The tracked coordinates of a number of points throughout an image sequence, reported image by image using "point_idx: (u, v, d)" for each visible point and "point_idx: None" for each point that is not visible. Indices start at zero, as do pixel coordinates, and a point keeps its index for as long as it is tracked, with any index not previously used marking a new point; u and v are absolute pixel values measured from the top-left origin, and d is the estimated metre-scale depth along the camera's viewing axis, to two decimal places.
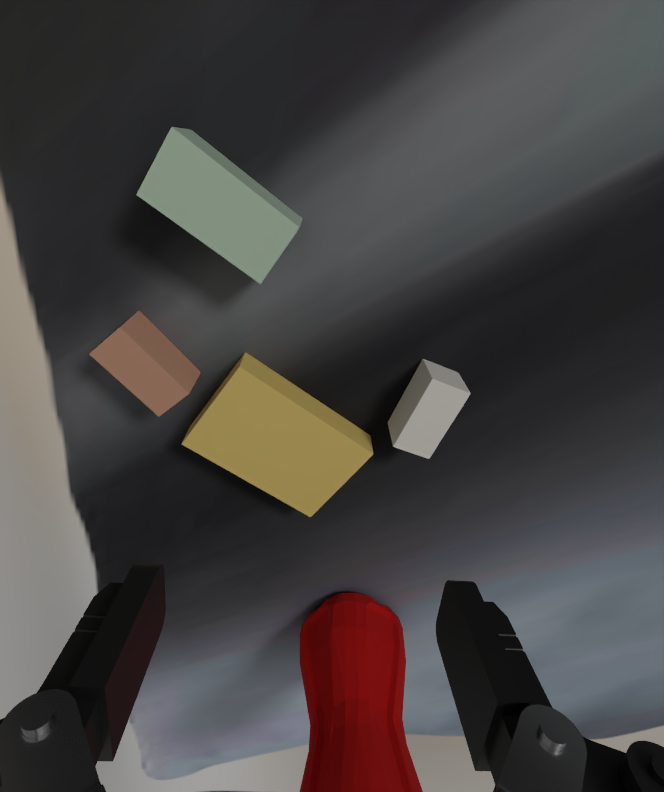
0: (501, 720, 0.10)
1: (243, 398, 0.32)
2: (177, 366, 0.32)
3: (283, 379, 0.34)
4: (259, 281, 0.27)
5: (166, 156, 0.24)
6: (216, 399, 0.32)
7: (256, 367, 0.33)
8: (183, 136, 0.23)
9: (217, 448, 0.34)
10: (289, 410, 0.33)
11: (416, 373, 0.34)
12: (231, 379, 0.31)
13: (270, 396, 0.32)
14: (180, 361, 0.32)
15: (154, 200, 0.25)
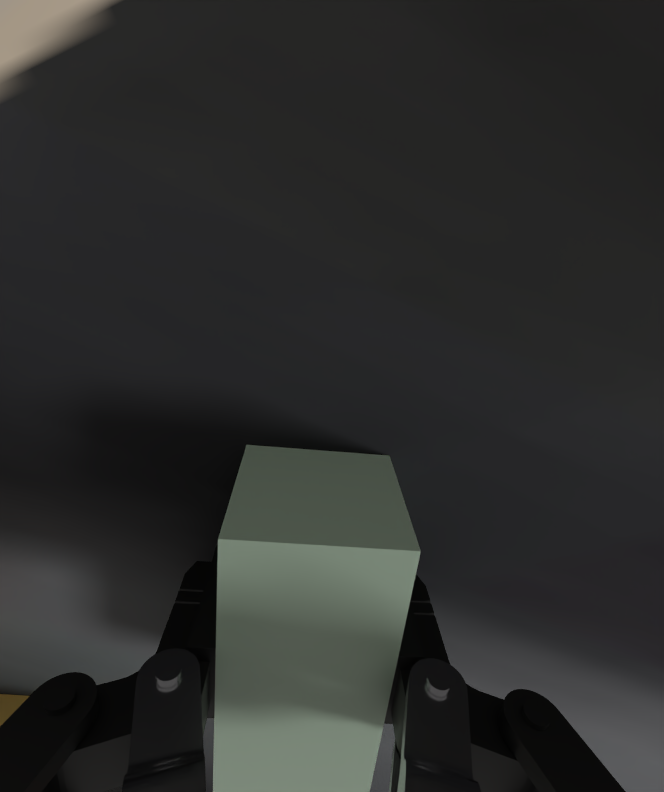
0: (401, 674, 0.10)
1: None
2: None
3: None
4: None
5: (350, 564, 0.09)
6: None
7: None
8: (412, 574, 0.09)
9: None
10: None
11: None
12: None
13: None
14: None
15: (234, 577, 0.09)
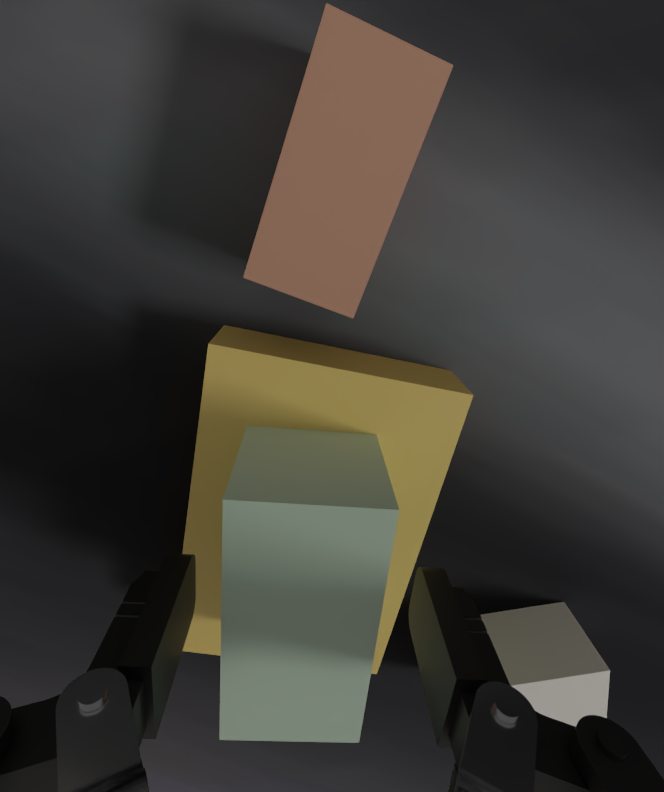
0: (461, 697, 0.10)
1: (399, 430, 0.14)
2: None
3: None
4: (223, 736, 0.13)
5: (338, 522, 0.10)
6: (372, 378, 0.13)
7: None
8: (393, 531, 0.11)
9: (241, 424, 0.14)
10: (408, 518, 0.15)
11: (541, 611, 0.20)
12: (436, 390, 0.14)
13: (426, 475, 0.15)
14: None
15: (237, 534, 0.10)
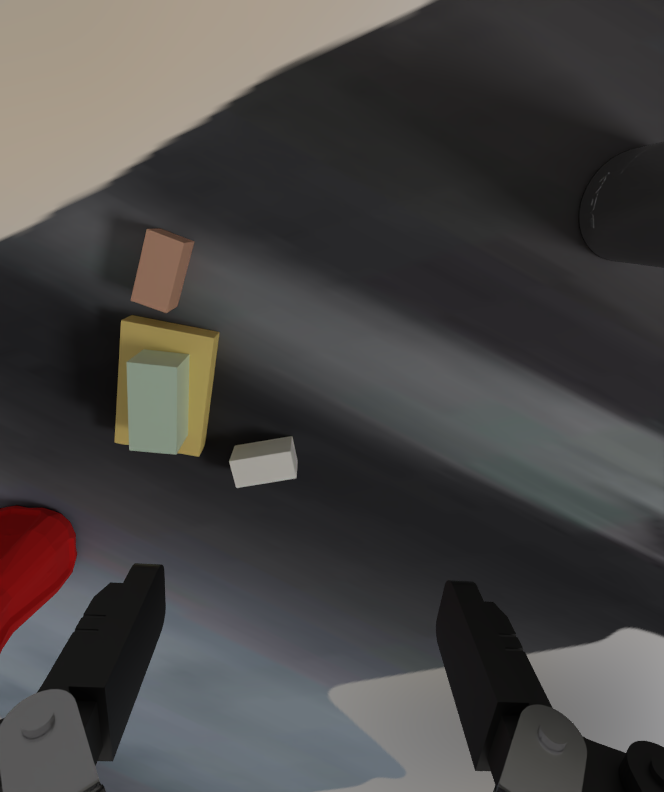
0: (502, 721, 0.10)
1: (190, 350, 0.40)
2: (176, 291, 0.39)
3: (214, 367, 0.43)
4: (130, 448, 0.39)
5: (160, 370, 0.37)
6: (177, 332, 0.40)
7: (215, 346, 0.42)
8: (176, 374, 0.37)
9: (134, 348, 0.40)
10: (199, 385, 0.42)
11: (280, 439, 0.46)
12: (200, 336, 0.40)
13: (203, 368, 0.41)
14: (178, 290, 0.40)
15: (131, 373, 0.37)
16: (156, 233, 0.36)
